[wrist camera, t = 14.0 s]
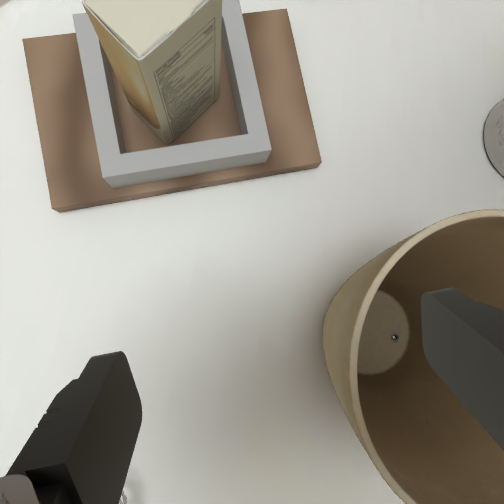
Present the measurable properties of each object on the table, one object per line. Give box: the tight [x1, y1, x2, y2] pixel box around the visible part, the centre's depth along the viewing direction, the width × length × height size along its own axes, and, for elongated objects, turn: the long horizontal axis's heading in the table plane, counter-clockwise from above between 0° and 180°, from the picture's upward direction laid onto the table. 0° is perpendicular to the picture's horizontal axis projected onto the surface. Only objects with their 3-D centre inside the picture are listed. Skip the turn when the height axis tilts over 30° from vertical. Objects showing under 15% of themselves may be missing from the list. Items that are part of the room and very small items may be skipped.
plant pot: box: [323, 209, 504, 504], centre depth 25 cm, size 15×15×16 cm
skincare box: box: [82, 0, 222, 144], centre depth 25 cm, size 6×4×12 cm
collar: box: [73, 0, 272, 189], centre depth 30 cm, size 12×12×3 cm
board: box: [23, 9, 321, 212], centre depth 32 cm, size 22×14×2 cm, turn 102°
